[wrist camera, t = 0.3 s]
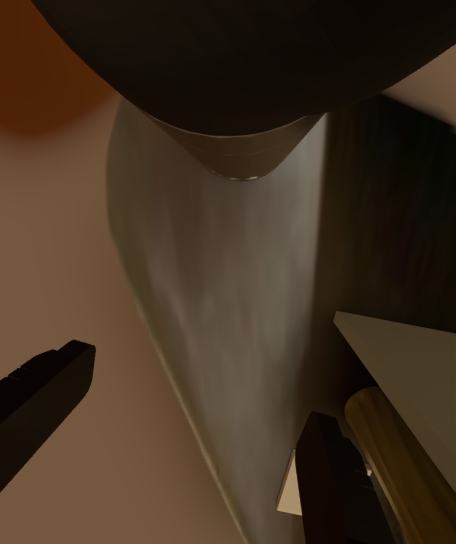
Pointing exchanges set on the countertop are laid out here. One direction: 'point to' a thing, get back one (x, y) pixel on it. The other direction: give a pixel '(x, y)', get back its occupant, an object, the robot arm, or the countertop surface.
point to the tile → (293, 489)
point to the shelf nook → (412, 378)
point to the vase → (403, 469)
